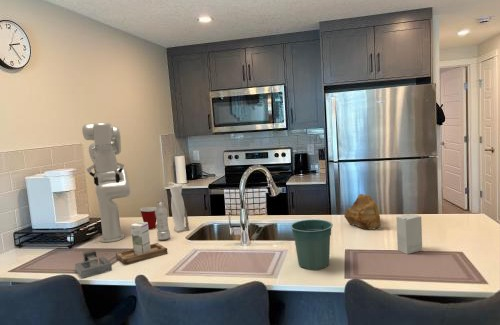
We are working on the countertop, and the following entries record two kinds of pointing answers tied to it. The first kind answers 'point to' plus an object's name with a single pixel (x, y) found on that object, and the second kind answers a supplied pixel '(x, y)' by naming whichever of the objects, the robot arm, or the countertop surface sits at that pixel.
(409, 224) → the skincare box
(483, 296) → the countertop surface
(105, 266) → the socket
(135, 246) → the syrup box
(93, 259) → the grey angular block
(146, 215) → the plastic cup
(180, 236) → the countertop surface
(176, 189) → the skyscraper
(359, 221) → the rough brown rock
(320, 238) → the flower pot
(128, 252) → the wooden tray
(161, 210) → the plastic bottle
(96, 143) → the robot arm
